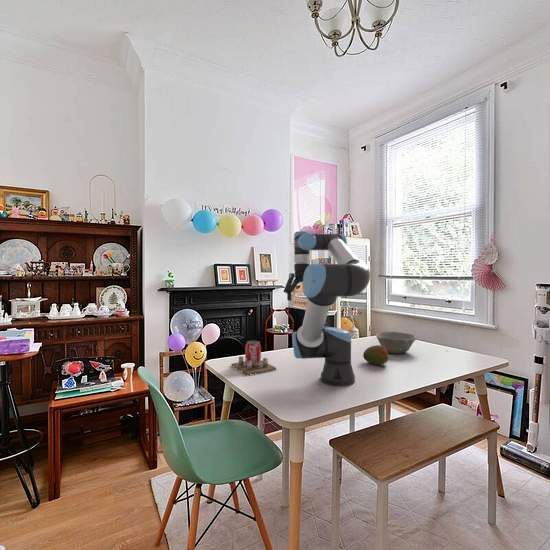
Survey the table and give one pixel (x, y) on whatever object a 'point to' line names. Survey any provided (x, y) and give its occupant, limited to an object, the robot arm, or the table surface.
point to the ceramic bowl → (396, 341)
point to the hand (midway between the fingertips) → (302, 306)
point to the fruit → (376, 355)
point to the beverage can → (253, 353)
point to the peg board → (249, 370)
